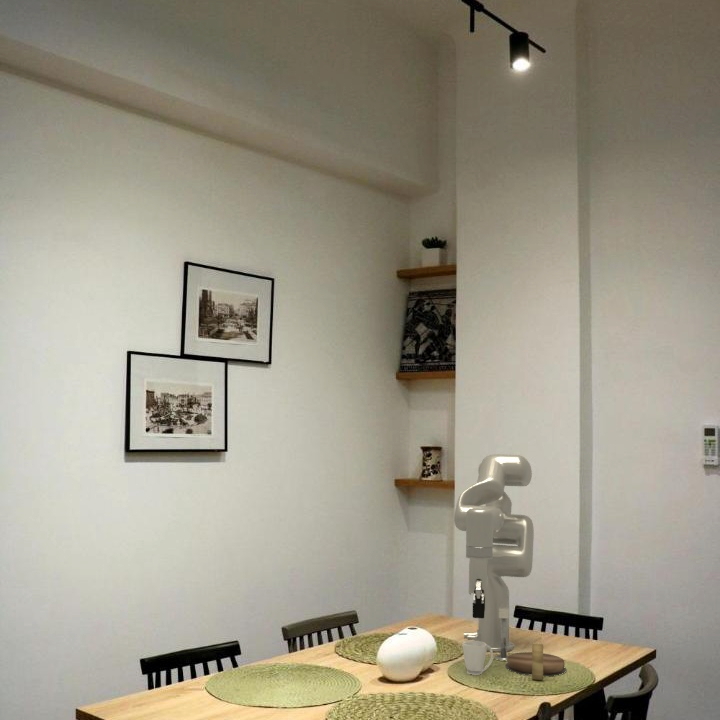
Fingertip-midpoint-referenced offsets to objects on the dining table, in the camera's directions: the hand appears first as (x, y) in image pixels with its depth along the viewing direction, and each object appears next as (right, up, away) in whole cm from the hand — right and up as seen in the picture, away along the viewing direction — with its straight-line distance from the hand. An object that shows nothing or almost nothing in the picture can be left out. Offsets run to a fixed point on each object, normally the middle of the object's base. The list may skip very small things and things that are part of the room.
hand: (478, 614), depth 239 cm
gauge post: (+9, -17, +13) cm, 24 cm away
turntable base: (+17, -17, +4) cm, 24 cm away
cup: (0, -16, -1) cm, 16 cm away
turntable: (+16, -16, +1) cm, 23 cm away
